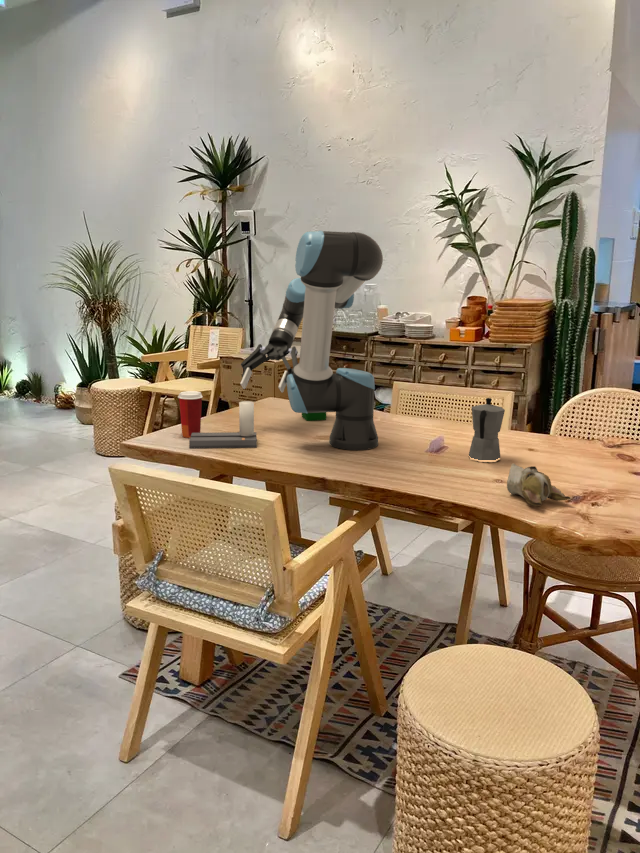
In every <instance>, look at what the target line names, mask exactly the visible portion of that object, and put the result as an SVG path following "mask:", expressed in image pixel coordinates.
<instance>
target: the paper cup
mask: <svg viewBox="0 0 640 853" xmlns="http://www.w3.org/2000/svg"><path fill="white" fill-rule="evenodd" d="M203 397H204V396H203V395H202V392H201V391H196V390H187V391H185V390H184V391H182V392H179V394H178V396H177V398H178V401H179V412H180V423H181V424H180V426H181V433H182V437H183V438H186V439H190V437H191V434H192V433H201V429H202V428H201V427H202V426H201V425H202V423H201V422H202V405H203V403H202V400H203Z"/></svg>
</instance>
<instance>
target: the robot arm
mask: <svg viewBox="0 0 640 853" xmlns="http://www.w3.org/2000/svg"><path fill="white" fill-rule="evenodd" d="M383 256H384V255H383V251H382V249H381V247H380V245H378V242H377V241H375V240H374V239H373V238H372V237H371V236H369V235H367V234H365V233H363V232H357V231H356V232H354V231H352V232H350V231H330V230H328V231H326V230H315V231H311V230H310V231H306V232H304V233H303V234H302V236H301V237H300V239H299V241H298V245H297V247H296V252H295V265H294V266H295V273H296V274H297V276H300V277H297V278H294V279H292V280H290V282H289V284H288V286H287V288H286V291H285V296H284V301H283V303H282V307H281V311H280V313H279V316H278V319H277V321H276V323H275V325H274V327H273V329H272V332H271V334H270V336H269V339H268V344H267V345H266V346H263V345H262V343H261V344H258V345H257V347H256V349H254V350H253V351H252V352H251V353H250V354H249V355H248V356H247V357H246V358H245V359H244V360H243V361H242V362H241V363H240V366H241V368H242V370H243V372H242V374H241V377H242V378H241V381H240V383H239V385H241V387H242V389H244V390H245V389H246V388H247V386H248V384H249V380H250V379H251V376H252V374H253V372H252V371H253V370H254V369H255V370H256V368H257V367H260V366H261V365H262V364H264V363H265V362H268V361H274V360H275V361H280V360H282V362H283V364H284V366H285V367H286V370H284V373H283V375H282V377H281V379H280V381H279V384H278V389H279V391H280V392H281V393H284V391H285V388H286V389H287V396H288V400H289V405H290V408H291V409H292V411H293V412H294V413H296V414H302V413H306V414H308V413H319V412H326V413H335V420H334V422H333V426H332V429H331V431H330V435H329V439H328V440H329V443H328V444H329V445H330V447H331V446H332V447H333V448H335V449H340V450H341V449H342V450H349V451H364V450H365V451H366V450H370V449H375V448H377V447H378V446H379V435H378V432H377V429H376V428H377V427H376V426H375V422H374V413H375V412H374V410H375V408H374V407H375V390H376V386H375V377H374V375H373V373H370V371H366V370H365V371H364V370H360V369H355V368H348V367H347V368H346V367H339V368H337V369H336V370H335V373H334V372H333V369H332V368H331V366H329V364H330V356H331V346H332V344H331V343H332V335H333V326H334V319H335V317H334V316H335V309H338V310H342V309H343V310H344V309H349V308H352V307H353V305H354V304H353V303H354V300H355V293H356V292H357V291H358V290H359V288H360V287H361V286H363V284H364V283H365V282H367V281H370V280H372V279H374V278H375V276H377V275H378V274H379V272H380V270H381V269H382V265H383V261H384V259H383ZM301 323H302V326H301V327H302V328H301V340H300V348H299V349H300V350H299V351H300V352H298V349H297V347H296V346H293V342H294V341H295V338H296V336H297V333H298V331H299V328H300V325H301ZM298 353H299V362H298ZM289 354H290V355H291V361H292V367H291V366H290V364H289V361H288V359H287V358H286V356H287V355H289ZM266 355H267V356H266Z"/></svg>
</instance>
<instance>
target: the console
mask: <svg viewBox="0 0 640 853" xmlns="http://www.w3.org/2000/svg"><path fill="white" fill-rule="evenodd" d="M257 439H258V436H257V432H255V431H254V435H253V436H249V437H245V436H241V435H240V431H239V432H238V431H237V432H236V431H235V432H234V431H233V432H231V431H230V432H229V431H228V432H226V431H225V432H219V431H218V432H200V433H192V434H191V437H190V438H189V440H188V441H189V443H188V444H189V445H188V446H189V449H255V448H257V447H258V445H257V444H258V442H257V441H258V440H257Z"/></svg>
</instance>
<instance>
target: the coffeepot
mask: <svg viewBox="0 0 640 853" xmlns="http://www.w3.org/2000/svg"><path fill="white" fill-rule="evenodd" d="M485 402H486V403H484V404H479V405H473V406H471V415H472V416H471V417H472V429H473V431H474V435H473V436H472V439H471V444H470V448H469V452H468V455H469V456H470V457H471V458H474V459H478V460H496V459H498V458H501V450H500V440H499V433H500V432H501V428H502V424H503V419H504V416H505V410H506V409H504V408H503V407H502V406H497V405H494V404H492V398H491V397H487V398H485ZM469 456H468V457H469Z"/></svg>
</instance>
